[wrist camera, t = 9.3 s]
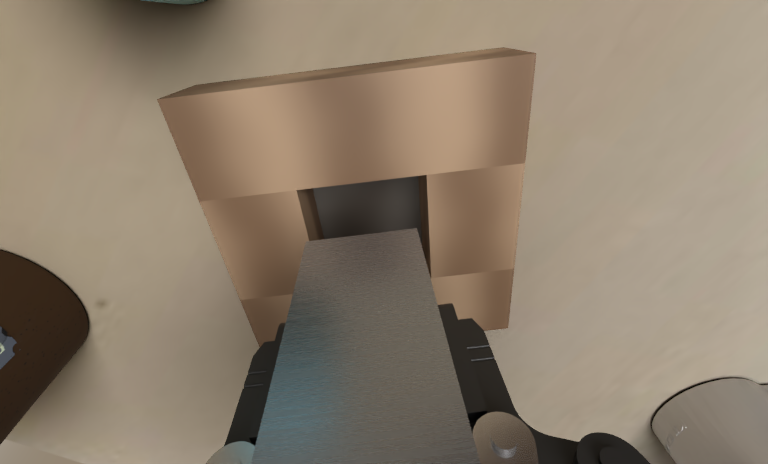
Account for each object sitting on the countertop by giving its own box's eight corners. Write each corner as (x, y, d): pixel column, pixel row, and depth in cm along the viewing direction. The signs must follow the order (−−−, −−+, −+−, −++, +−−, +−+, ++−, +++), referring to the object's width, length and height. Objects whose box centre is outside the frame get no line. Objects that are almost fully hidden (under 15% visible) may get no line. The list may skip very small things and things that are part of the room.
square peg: (417, 228, 13) (534, 663, 4) (422, 310, 15) (507, 714, 6) (305, 241, 13) (191, 702, 4) (327, 321, 15) (280, 740, 6)
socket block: (503, 47, 16) (536, 53, 13) (489, 288, 23) (507, 328, 20) (195, 84, 16) (157, 99, 13) (276, 312, 23) (263, 355, 20)
